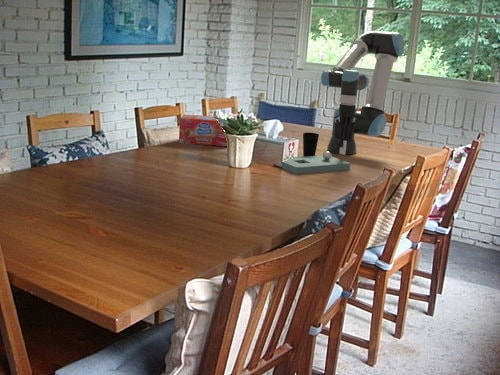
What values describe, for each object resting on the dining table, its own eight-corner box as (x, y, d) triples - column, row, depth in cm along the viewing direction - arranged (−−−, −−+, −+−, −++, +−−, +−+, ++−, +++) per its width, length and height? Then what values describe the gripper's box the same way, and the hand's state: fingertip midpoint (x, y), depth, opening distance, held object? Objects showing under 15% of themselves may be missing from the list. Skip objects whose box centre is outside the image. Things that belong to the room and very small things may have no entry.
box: (177, 143, 331) (178, 117, 328) (184, 138, 344) (184, 113, 340) (229, 147, 328) (230, 121, 324) (234, 143, 340) (235, 117, 337)
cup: (316, 157, 318) (318, 133, 315) (316, 160, 311) (318, 135, 308) (301, 155, 319) (303, 132, 316) (300, 159, 311) (302, 134, 308)
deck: (326, 161, 311) (327, 154, 310) (349, 169, 296) (350, 163, 295) (274, 164, 296) (274, 158, 295) (295, 174, 281) (296, 167, 280)
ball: (327, 158, 302) (328, 150, 301) (332, 160, 298) (333, 152, 297) (320, 159, 300) (321, 150, 299) (325, 161, 296) (326, 152, 295)
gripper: (353, 102, 303) (348, 151, 309) (331, 102, 296) (326, 152, 302) (363, 105, 297) (358, 154, 303) (341, 105, 290) (336, 156, 296)
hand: (342, 153), depth 302 cm, fingers closed
